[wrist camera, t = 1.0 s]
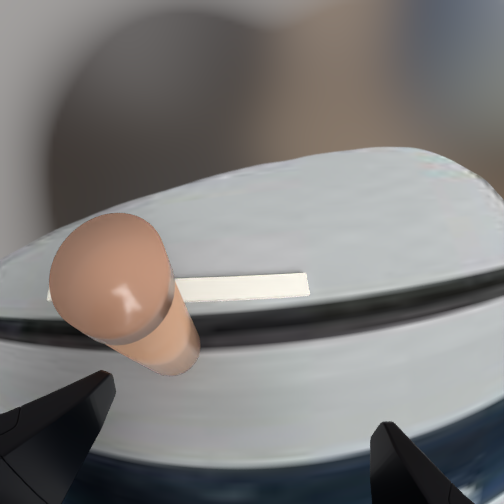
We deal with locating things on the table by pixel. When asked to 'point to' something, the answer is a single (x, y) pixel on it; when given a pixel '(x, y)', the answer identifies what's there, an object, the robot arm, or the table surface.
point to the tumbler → (124, 293)
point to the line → (240, 287)
